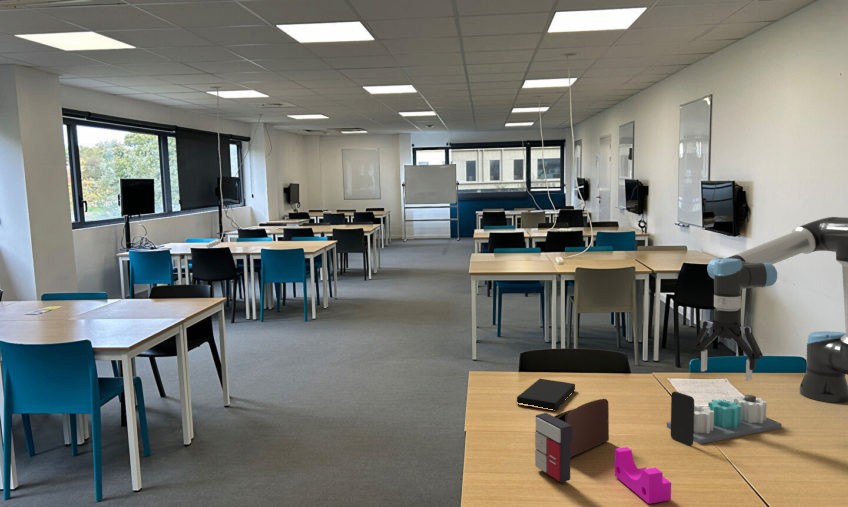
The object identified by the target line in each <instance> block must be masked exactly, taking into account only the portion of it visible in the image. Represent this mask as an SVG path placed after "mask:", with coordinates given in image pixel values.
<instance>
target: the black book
mask: <svg viewBox="0 0 848 507" xmlns="http://www.w3.org/2000/svg"><path fill="white" fill-rule="evenodd" d="M574 390H575V391H576V384H575V383H570V382H567V381H566V382H565V381H558V380H551V379H544V378H538V379H537V380H536V381H535V382H534V383H533V384H531V385H530V386H528V388H526V389H525V390H524V391H522V392H521V393H520V394H519V395H517V396H516V403H517V402H518V403H523V404H528V405H534V406H538V407H543V408H548V409H553V410H556V409H557V408H558V407H559V406H560V405H561V404H562V403H563V402H564V401H565V399H566V398H567V397H569V395H570V394H571V393H572V392H573V391H574ZM569 398H570V397H569ZM565 402H566V401H565ZM565 402H564V403H565ZM564 403H563V404H564ZM563 404H562V405H563ZM562 405H561V406H562ZM561 406H560V407H561ZM560 407H559V408H560ZM559 408H558V409H559ZM558 409H557V410H558ZM557 410H556V411H557Z"/></svg>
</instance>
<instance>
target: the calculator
mask: <svg viewBox="0 0 848 507" xmlns="http://www.w3.org/2000/svg"><path fill="white" fill-rule="evenodd" d="M554 416H555V415H554ZM554 416H553V415H551V414H549V413H547V412H544V413H540V414H539V413H538V414H536V415H535V432H534V439H535V440H534V442H535V443H534V447H535V450H534V452H535V453H534V458H535V459H534V461H535V462H534V463H535V464H534V465H535V467H536V468H537V469H539V470H541V471H542V472H544V473H546V474H547V475H548V476H550V477H552V478H554V479H555V480H557V481H558V482H559V483H564V482H567V481H570V480H571V458H570V443H571V440H572V426H571V425H570V424H568V423H566V422H564V421H562V420H560V419H558V418H556V417H554Z"/></svg>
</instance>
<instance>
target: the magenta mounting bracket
mask: <svg viewBox="0 0 848 507" xmlns="http://www.w3.org/2000/svg"><path fill="white" fill-rule="evenodd" d="M663 474H664V473H663V471H661V470H660V469H659V468H657V467H650V468H647V467H641V468H638V467H637V466H636V464H635V461H634V456H633V451H632V449H631V448H629V446H624V447H619V448H614V476H615V477H616V479H618V480H619V481H621V482H622V483H623V484H624V485H626V487H628V488H629V489H630V490H631V491H633V493H635V494H636V495H637V496H639V497H640V498H641V499H642V500H643V501H645V503H647V504H649V505H651V504H655V503H660V502H661V503H662V502H667V501H671V500H672V482H671V481H670V480H669V479H667V478H666V477H664V476H663Z"/></svg>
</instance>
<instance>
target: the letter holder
mask: <svg viewBox="0 0 848 507" xmlns="http://www.w3.org/2000/svg"><path fill="white" fill-rule="evenodd" d="M609 416H610V412H609V400H608V399H606V398H602V399H601V398H600V399H595V400H592V401H588V402H586V403H583V404H581V405H580V406H577V407H575V408H573V409H569V410H567V411H563V412H561V413H559V414H557V415H554V417H556V418H558V419H560V420H562V421H564V422H566V423H568V424H570V425H571V426H572V440H571V443H570V459H571V458H573V457H574V456H577V455H579V454H581V453H584V452H585V451H589V450H591V449H592V448H595V447H597V446H600V445H601V444H604V443H605V442H608V441H609V440H610V434H609V433H610V430H609V429H610V428H609V427H610V426H609V425H610V423H609V418H610V417H609Z"/></svg>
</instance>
